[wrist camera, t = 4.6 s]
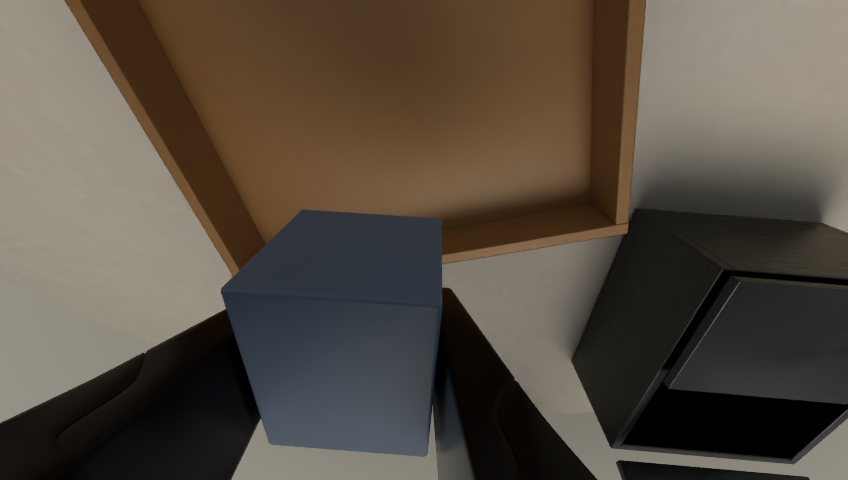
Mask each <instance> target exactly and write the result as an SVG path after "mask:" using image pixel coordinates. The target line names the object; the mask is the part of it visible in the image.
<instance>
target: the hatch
mask: <svg viewBox="0 0 848 480" xmlns="http://www.w3.org/2000/svg"><path fill="white" fill-rule="evenodd" d="M616 464H617V466H618V469H619V472H620V475H621V478H622V480H810V479H809V478H808V477H802V476H790V475H779V474H768V473H757V472H745V471H735V470H723V469H712V468H700V467H689V466H678V465H666V464H656V463H644V462H633V461H622V460H621V461H620V460H619V461H617V462H616Z"/></svg>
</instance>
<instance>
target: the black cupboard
mask: <svg viewBox="0 0 848 480" xmlns="http://www.w3.org/2000/svg"><path fill="white" fill-rule="evenodd" d="M572 364H573V366H574V368H575V370H576V372H577V375H578V377H579V379H580V381H581V383H582V386H583V388H584V390H585V392H586V394H587V397H588V399H589V401H590V403H591V405H592V408H593V410H594V412H595V414H596V416H597V418H598V421H599V423H600V425H601V427H602V430H603V432H604V434H605V436H606V438H607V441H608V443H609V445H610V447H611V448H614V449H626V450H637V451H648V452H660V453H672V454H683V455H694V456H705V457H716V458H728V459H739V460H751V461H762V462H773V463H787V464H795V463H796V462H797V461H799V460H800V459H801V458H802V457H803V456H804V455H806V454H807V453H808V452H809V451H810V450H811V449H813V448H814V447H815V446H816V445H817V444H818V443H819V442H821V441H822V440H823V439H824V438H825V437H826V436H828V435H829V434H830V433H831V432H832V431H833V430H835V429H836V428H837V427H838V426H839V425H840V424H842V423H843V422H844V421H845V420H846V419H847V418H848V233H846V232H844V231H841V230H839V229H836V228H834V227H831V226H829V225H826V224H824V223H812V222H800V221H788V220H776V219H763V218H751V217H739V216H726V215H714V214H702V213H690V212H677V211H665V210H653V209H640V208H635V210H634V213H633V215H632V218H631V220H630V222H629V225H628V233H627V234H624V237H623V239H622V242H621V244H620V246H619V249H618V251H617V253H616V256H615V258H614V261H613V263H612V265H611V268H610V270H609V273H608V275H607V277H606V280H605V282H604V285H603V287H602V289H601V292H600V294H599V297H598V299H597V301H596V304H595V306H594V308H593V311H592V313H591V316H590V318H589V320H588V323H587V325H586V328H585V330H584V332H583V335H582V337H581V340H580V342H579V344H578V347H577V349H576V351H575V354H574V356H573V359H572Z"/></svg>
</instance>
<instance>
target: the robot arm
mask: <svg viewBox="0 0 848 480" xmlns="http://www.w3.org/2000/svg"><path fill="white" fill-rule="evenodd" d="M433 415H434V427H435V441H436V454H437V467H438V480H597V479H596V478H595V477H594V475H593V474H592V473H591V472H590V471H589V470H588V469H587V467H586V466H585V465H584V464H583V463H582V462H581V460H580V459H579V458H578V457H577V456H576V455H575V454H574V453H573V451H572V450H571V449H570V448H569V447H568V446H567V444H566V443H565V442H564V441H563V440H562V439H561V437H560V436H559V435H558V434H557V433H556V431H555V430H554V429H553V428H552V427H551V425H550V424H549V423H548V422H547V421H546V419H545V418H544V417H543V416H542V415H541V413H540V412H539V411H538V409H537V408H536V407H535V405H534V404H533V403H532V401H531V400H530V399H529V397H528V396H527V395H526V393H525V392H524V391H523V389H522V388H521V386H520V385H519V383H518V382H517V381H515V378H514V377H513V375H512V374H511V372H510V371H509V370H508V368H507V367H506V365H505V364H504V363H503V361H502V360H501V358H500V357H499V356H498V354H497V353H496V351H495V350H494V349H493V347H492V346H491V344H490V343H489V342H488V340H487V339H486V337H485V336H484V335H483V333H482V332H481V330H480V329H479V328H478V326H477V325H476V323H475V322H474V321H473V319H472V318H471V316H470V315H469V314H468V312H467V311H466V309H465V308H464V307H463V305H462V304H461V302H460V301H459V300H458V298H457V297H456V295H455V294H454V293H453V291H452V290H451V289H450V288H442V314H441V324H440V334H439V344H438V354H437V364H436V374H435V384H434V394H433ZM260 419H261V416H260V413H259V410H258V407H257V404H256V400H255V397H254V394H253V391H252V388H251V385H250V382H249V379H248V375H247V372H246V369H245V366H244V363H243V360H242V357H241V354H240V350H239V347H238V344H237V341H236V338H235V335H234V332H233V328H232V325H231V322H230V319H229V316H228V313H227V310H226V309H225V310H223V311H221V312H219V313H217V314H215V315H214V316H212V317H210V318H208V319H206V320H204V321H202V322H200V323H198V324H197V325H195V326H193V327H191V328H189V329H187V330H185V331H183V332H181V333H180V334H178V335H176V336H174V337H172V338H170V339H168V340H166V341H164V342H163V343H161V344H159V345H157V346H155V347H153V348H151V349H149V350H148V351H147V352H146V354H145V353H142V354H140V355H138V356H136V357H134V358H132V359H130V360H129V361H127V362H125V363H123V364H121V365H119V366H117V367H115V368H113V369H111V370H109V371H107V372H105V373H103V374H101V375H99V376H98V377H96V378H94V379H92V380H90V381H88V382H86V383H84V384H81V385H79V386H77V387H75V388H73V389H71V390H69V391H67V392H65V393H63V394H61V395H58V396H56V397H54V398H52V399H50V400H48V401H46V402H44V403H42V404H40V405H38V406H35V407H33V408H31V409H29V410H27V411H25V412H23V413H20V414H19V415H16V416H14V417H12V418H10V419H8V420H6V421H3V422H1V423H0V480H231V479H232V477H233V475H234V473H235V470H236V468H237V466H238V464H239V462H240V460H241V458H242V456H243V454H244V452H245V450H246V448H247V446H248V443H249V441H250V439H251V437H252V435H253V433H254V431H255V429H256V427H257V425H258V423H259V421H260Z"/></svg>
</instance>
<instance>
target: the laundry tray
mask: <svg viewBox="0 0 848 480" xmlns="http://www.w3.org/2000/svg"><path fill="white" fill-rule="evenodd" d="M65 2H66V3H67V5H68V7H69V8H70V10H71V12H72V13H73V15H74V17H75V18H76V20H77V21H78V23H79V25H80V26H81V28H82V30H83V31H84V33H85V35H86V36H87V38H88V39H89V41H90V43H91V44H92V46H93V48H94V49H95V51H96V53H97V54H98V56H99V58H100V59H101V61H102V62H103V64H104V66H105V67H106V69H107V71H108V72H109V74H110V76H111V77H112V79H113V80H114V82H115V84H116V85H117V87H118V89H119V90H120V92H121V94H122V95H123V97H124V98H125V100H126V102H127V103H128V105H129V107H130V108H131V110H132V112H133V113H134V115H135V116H136V118H137V120H138V121H139V123H140V125H141V126H142V128H143V130H144V131H145V133H146V134H147V136H148V138H149V139H150V141H151V143H152V144H153V146H154V148H155V149H156V151H157V152H158V154H159V156H160V157H161V159H162V161H163V162H164V164H165V166H166V167H167V169H168V170H169V172H170V174H171V175H172V177H173V179H174V180H175V182H176V184H177V185H178V187H179V188H180V190H181V192H182V193H183V195H184V197H185V198H186V200H187V202H188V203H189V205H190V206H191V208H192V210H193V211H194V213H195V215H196V216H197V218H198V220H199V221H200V223H201V224H202V226H203V228H204V229H205V231H206V233H207V234H208V236H209V238H210V239H211V241H212V242H213V244H214V246H215V247H216V249H217V251H218V252H219V254H220V256H221V257H222V259H223V261H224V262H225V264H226V265H227V267H228V269H229V270H230V272H231V274H232V275H233V276H234V275H235V274H236V273H237V272H238V271H239V270H240V269H241V268H242V267H243V266H245V265H246V264H247V263H248V262H249V261H250V260H251V259H252V258H253V257H254V256H255V255H256V254H257V253H258V252H259V251H260V250H261V249H262V248H263V247H264V246H265V245H266V244H267V243H268V242H269V241H270V240H271V239H272V238H273V237H274V236H275V235H276V234H277V233H278V232H279V231H280V230H281V229H282V228H283V227H284V226H285V225H286V224H287V223H288V222H289V221H290V220H291V219H292V218H293V217H294V216H295V215H296V214H298V213H299V212H300V211H301V210H303V209H305V210H320V211H335V212H350V213H366V214H381V215H396V216H411V217H426V218H439V219H441V221H442V264H447V263H453V262H459V261H465V260H471V259H477V258H483V257H489V256H495V255H501V254H507V253H513V252H519V251H525V250H531V249H537V248H543V247H549V246H555V245H561V244H567V243H573V242H579V241H585V240H591V239H597V238H603V237H609V236H615V235H621V234H627V233H628V220H629V208H630V195H631V183H632V170H633V158H634V145H635V133H636V120H637V108H638V95H639V83H640V70H641V58H642V45H643V33H644V20H645V8H646V0H65Z"/></svg>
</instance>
